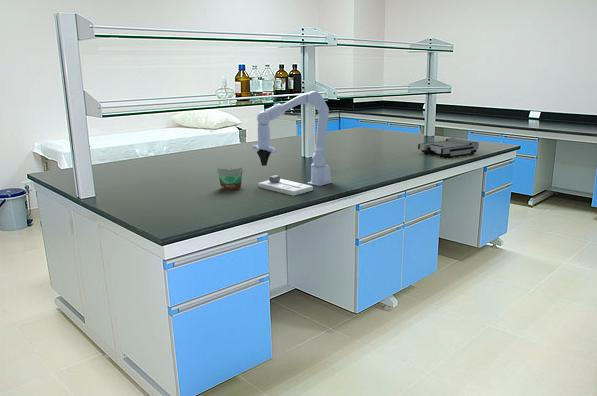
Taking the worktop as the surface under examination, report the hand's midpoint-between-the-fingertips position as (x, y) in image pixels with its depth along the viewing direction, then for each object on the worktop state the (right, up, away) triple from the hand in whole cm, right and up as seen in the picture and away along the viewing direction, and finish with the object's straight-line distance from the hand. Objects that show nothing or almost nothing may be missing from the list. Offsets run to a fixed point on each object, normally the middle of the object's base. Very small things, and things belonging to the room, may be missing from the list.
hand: (264, 165), depth 236 cm
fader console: (+10, -11, -7) cm, 17 cm away
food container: (-14, -12, -8) cm, 20 cm away
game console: (+112, +12, +78) cm, 137 cm away
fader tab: (+5, -8, -3) cm, 10 cm away
